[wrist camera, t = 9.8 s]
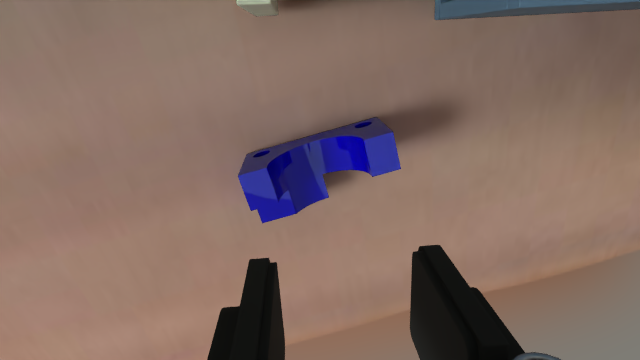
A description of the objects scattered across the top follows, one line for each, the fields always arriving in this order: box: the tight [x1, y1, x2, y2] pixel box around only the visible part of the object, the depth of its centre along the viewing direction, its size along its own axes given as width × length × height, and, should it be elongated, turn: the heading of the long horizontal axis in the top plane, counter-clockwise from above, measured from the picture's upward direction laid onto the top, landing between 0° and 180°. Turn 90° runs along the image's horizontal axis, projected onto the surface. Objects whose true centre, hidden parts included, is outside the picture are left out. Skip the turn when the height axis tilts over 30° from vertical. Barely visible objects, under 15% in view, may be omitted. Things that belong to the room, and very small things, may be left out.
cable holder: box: [238, 117, 401, 223], centre depth 22 cm, size 8×4×4 cm, turn 105°
